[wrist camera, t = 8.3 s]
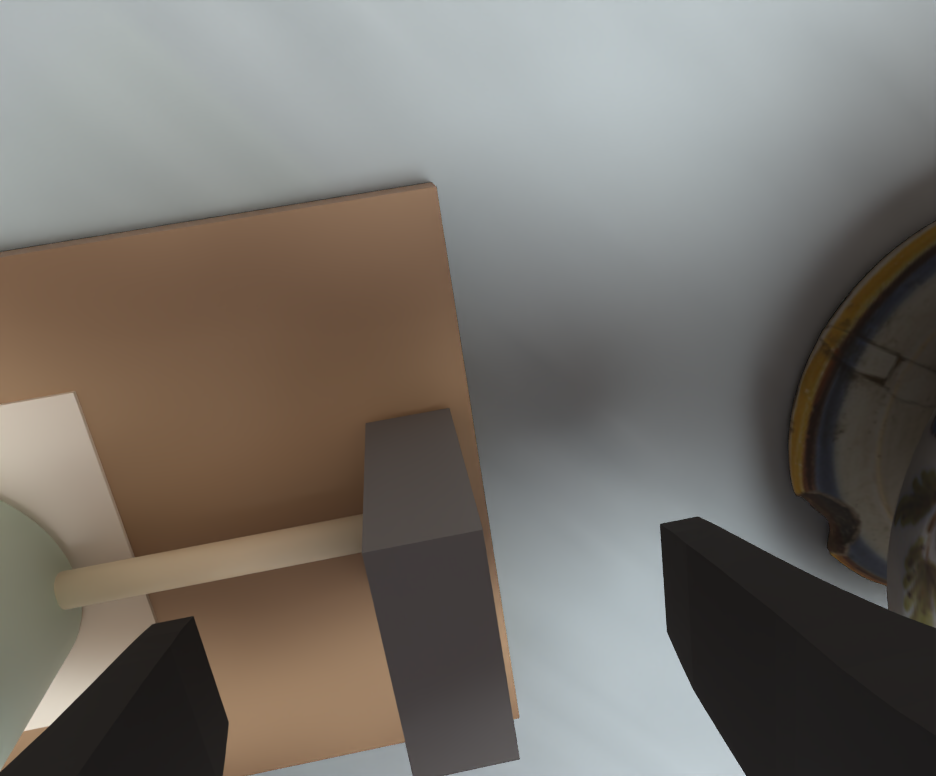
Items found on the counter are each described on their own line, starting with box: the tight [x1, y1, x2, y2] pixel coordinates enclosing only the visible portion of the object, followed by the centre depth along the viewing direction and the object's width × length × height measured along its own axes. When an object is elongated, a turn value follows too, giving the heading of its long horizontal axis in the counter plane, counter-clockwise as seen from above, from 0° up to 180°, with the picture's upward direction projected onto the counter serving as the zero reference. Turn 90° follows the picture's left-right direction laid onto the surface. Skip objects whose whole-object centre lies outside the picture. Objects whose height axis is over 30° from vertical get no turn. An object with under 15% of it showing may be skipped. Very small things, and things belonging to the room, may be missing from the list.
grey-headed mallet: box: [0, 408, 520, 776], centre depth 12 cm, size 5×13×5 cm, turn 99°
